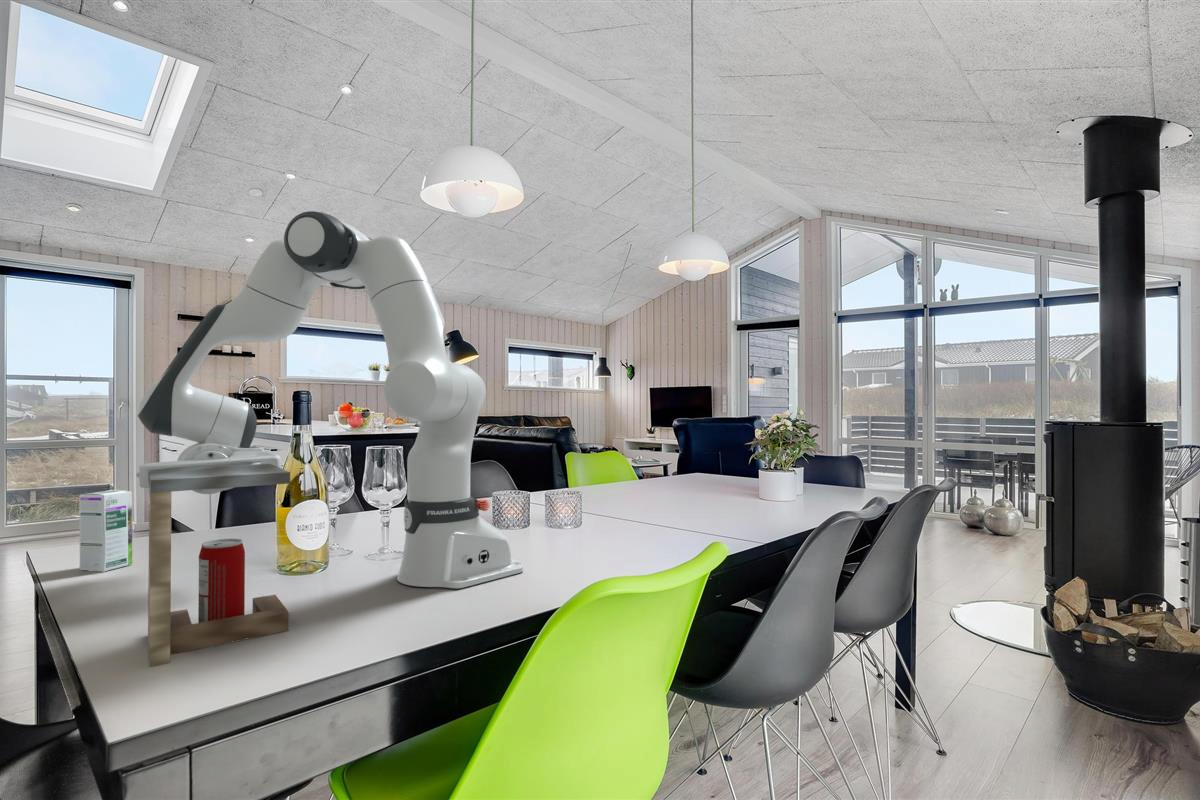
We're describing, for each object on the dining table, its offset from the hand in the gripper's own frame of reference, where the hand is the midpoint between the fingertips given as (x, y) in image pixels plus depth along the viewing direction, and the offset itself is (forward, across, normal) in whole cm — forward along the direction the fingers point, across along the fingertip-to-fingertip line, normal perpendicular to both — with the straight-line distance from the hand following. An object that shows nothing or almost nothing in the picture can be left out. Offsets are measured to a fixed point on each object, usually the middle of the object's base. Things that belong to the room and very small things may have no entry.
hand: (218, 473), depth 98 cm
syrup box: (-36, -15, +19) cm, 43 cm away
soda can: (+14, -2, +21) cm, 25 cm away
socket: (+16, -1, +20) cm, 26 cm away
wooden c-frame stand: (+17, -2, +20) cm, 27 cm away
